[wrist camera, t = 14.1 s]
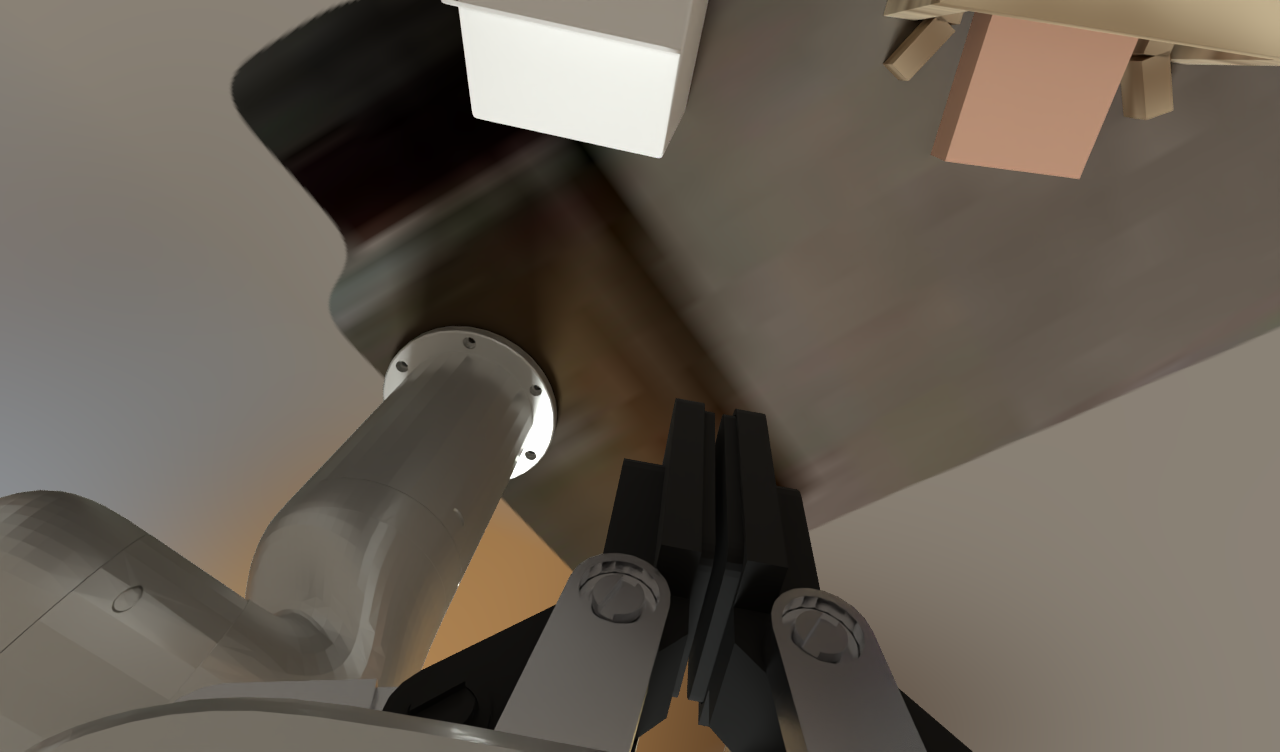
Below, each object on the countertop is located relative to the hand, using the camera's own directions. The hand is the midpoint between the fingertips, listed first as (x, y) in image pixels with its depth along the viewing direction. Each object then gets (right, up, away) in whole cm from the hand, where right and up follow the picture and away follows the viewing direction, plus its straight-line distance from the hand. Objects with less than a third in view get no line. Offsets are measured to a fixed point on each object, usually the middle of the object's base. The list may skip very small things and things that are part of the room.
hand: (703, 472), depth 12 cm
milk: (-1, +20, +23) cm, 31 cm away
